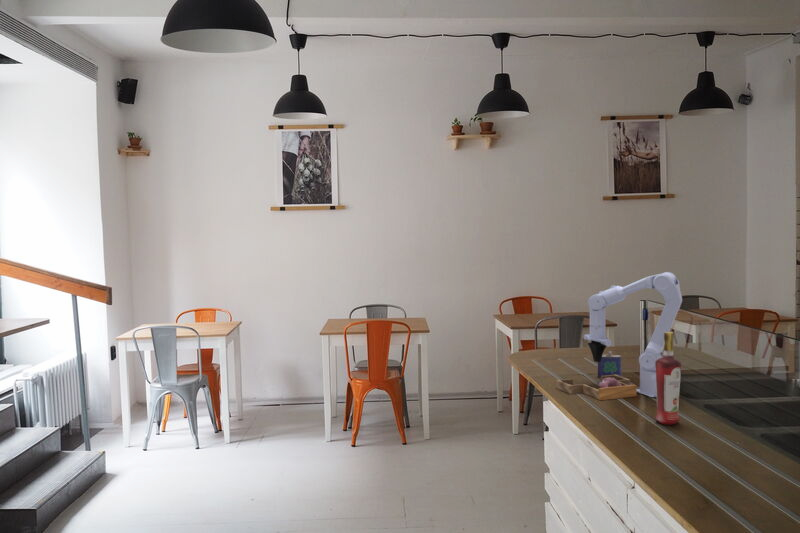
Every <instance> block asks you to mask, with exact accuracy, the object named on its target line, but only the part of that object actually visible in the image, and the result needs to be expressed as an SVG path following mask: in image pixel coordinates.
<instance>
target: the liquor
mask: <svg viewBox="0 0 800 533" xmlns="http://www.w3.org/2000/svg"><path fill="white" fill-rule="evenodd" d="M673 340H674V332H673V331H670V332H664V342H665V344H664V349H663V352H662V358H659V359H658V360H656V361H655V365H656V389H657V397H656V415H655V420H657V421H658V422H659V423H660V424H662V425H665V426H666V425H667V426H673V425H676V424H677V423H678V422H679V421H680V418H679V404H680V403H679V401H680V388H681V386H680V385H681V372H682V362H681V361H680V360H679V359H676V358H675V357H674V347H673V342H674V341H673Z"/></svg>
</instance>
